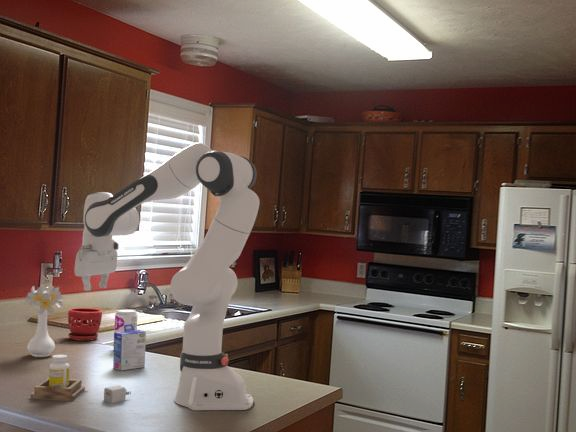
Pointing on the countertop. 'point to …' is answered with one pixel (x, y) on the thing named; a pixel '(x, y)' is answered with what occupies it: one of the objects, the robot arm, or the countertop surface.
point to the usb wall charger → (115, 394)
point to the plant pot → (84, 323)
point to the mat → (63, 400)
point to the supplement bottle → (59, 372)
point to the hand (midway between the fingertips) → (95, 289)
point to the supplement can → (125, 320)
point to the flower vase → (43, 318)
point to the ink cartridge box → (129, 349)
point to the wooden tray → (58, 390)
